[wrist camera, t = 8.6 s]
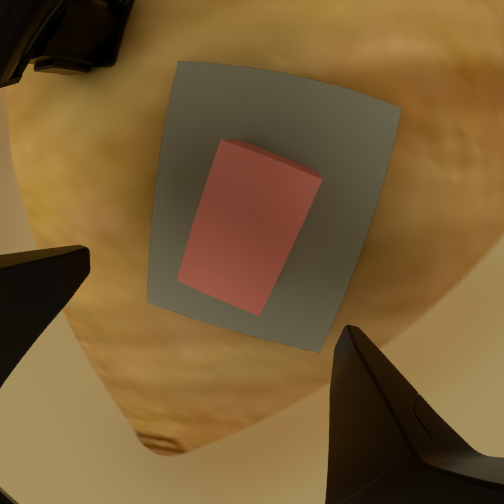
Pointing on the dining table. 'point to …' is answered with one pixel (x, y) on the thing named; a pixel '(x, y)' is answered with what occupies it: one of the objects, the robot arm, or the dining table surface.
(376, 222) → the dining table surface
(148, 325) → the dining table surface
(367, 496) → the robot arm
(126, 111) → the dining table surface
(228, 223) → the red block
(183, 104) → the mat
